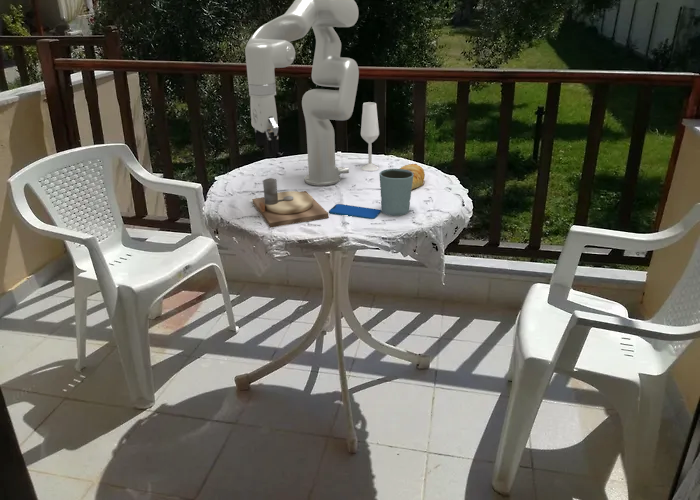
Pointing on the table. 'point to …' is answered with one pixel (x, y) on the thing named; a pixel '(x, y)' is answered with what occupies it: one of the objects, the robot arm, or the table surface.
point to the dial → (285, 199)
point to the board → (286, 219)
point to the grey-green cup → (395, 191)
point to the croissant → (415, 174)
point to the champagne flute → (369, 131)
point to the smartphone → (355, 211)
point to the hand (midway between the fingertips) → (267, 149)
